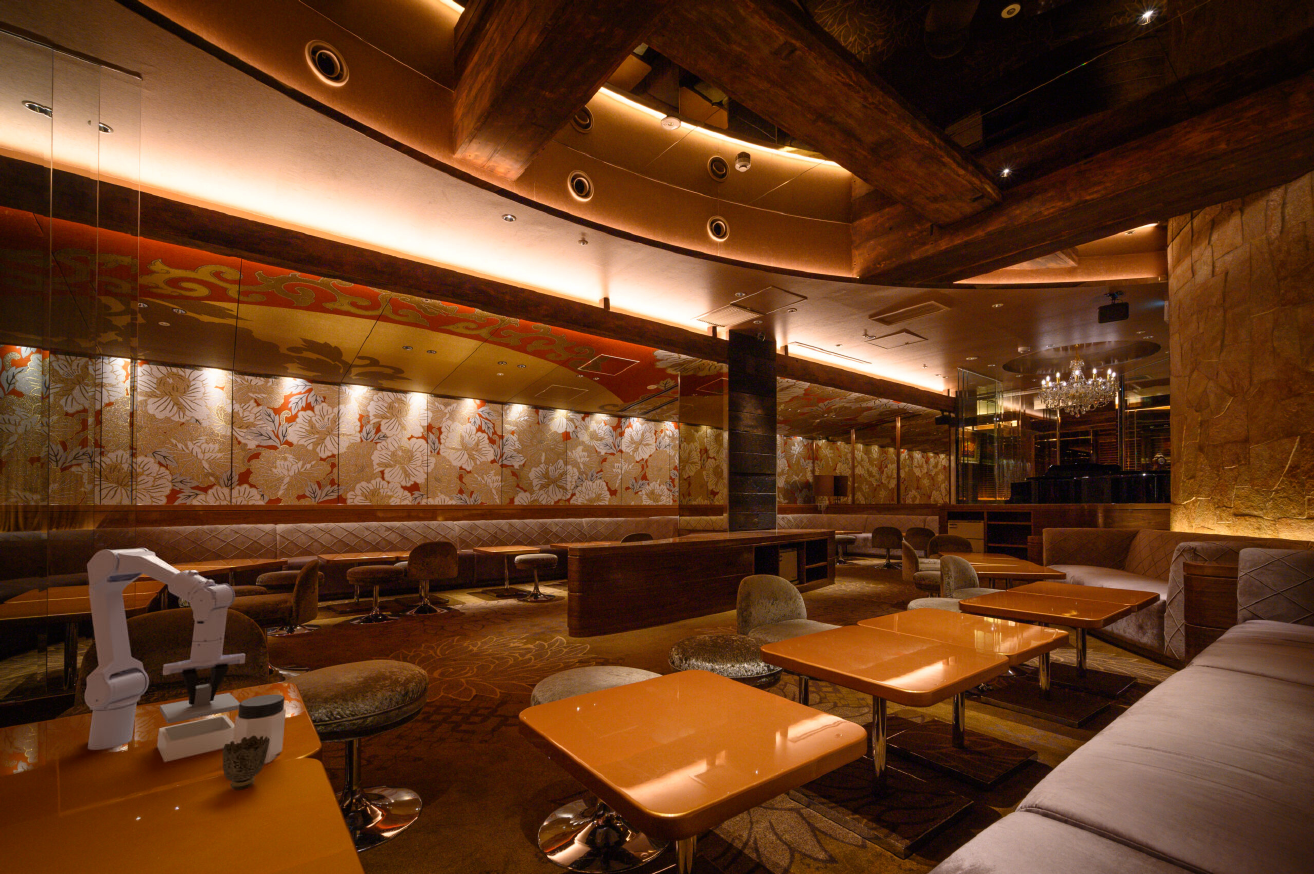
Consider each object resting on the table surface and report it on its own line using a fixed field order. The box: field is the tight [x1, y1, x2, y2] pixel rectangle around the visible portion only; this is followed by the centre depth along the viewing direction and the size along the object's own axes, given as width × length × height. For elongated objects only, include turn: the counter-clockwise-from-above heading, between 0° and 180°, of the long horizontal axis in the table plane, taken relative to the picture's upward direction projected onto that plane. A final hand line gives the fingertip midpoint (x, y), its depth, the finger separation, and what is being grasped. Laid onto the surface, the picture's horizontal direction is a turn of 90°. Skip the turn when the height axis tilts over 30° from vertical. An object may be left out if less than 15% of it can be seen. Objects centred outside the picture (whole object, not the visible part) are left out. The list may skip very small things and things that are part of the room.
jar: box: [233, 694, 287, 765], centre depth 121 cm, size 9×8×12 cm
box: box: [156, 714, 235, 763], centre depth 125 cm, size 12×12×4 cm
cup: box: [221, 735, 270, 791], centre depth 108 cm, size 8×7×8 cm
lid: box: [159, 683, 241, 724], centre depth 127 cm, size 13×13×5 cm
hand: (201, 701), depth 126 cm, fingers closed on lid, 3 cm apart
